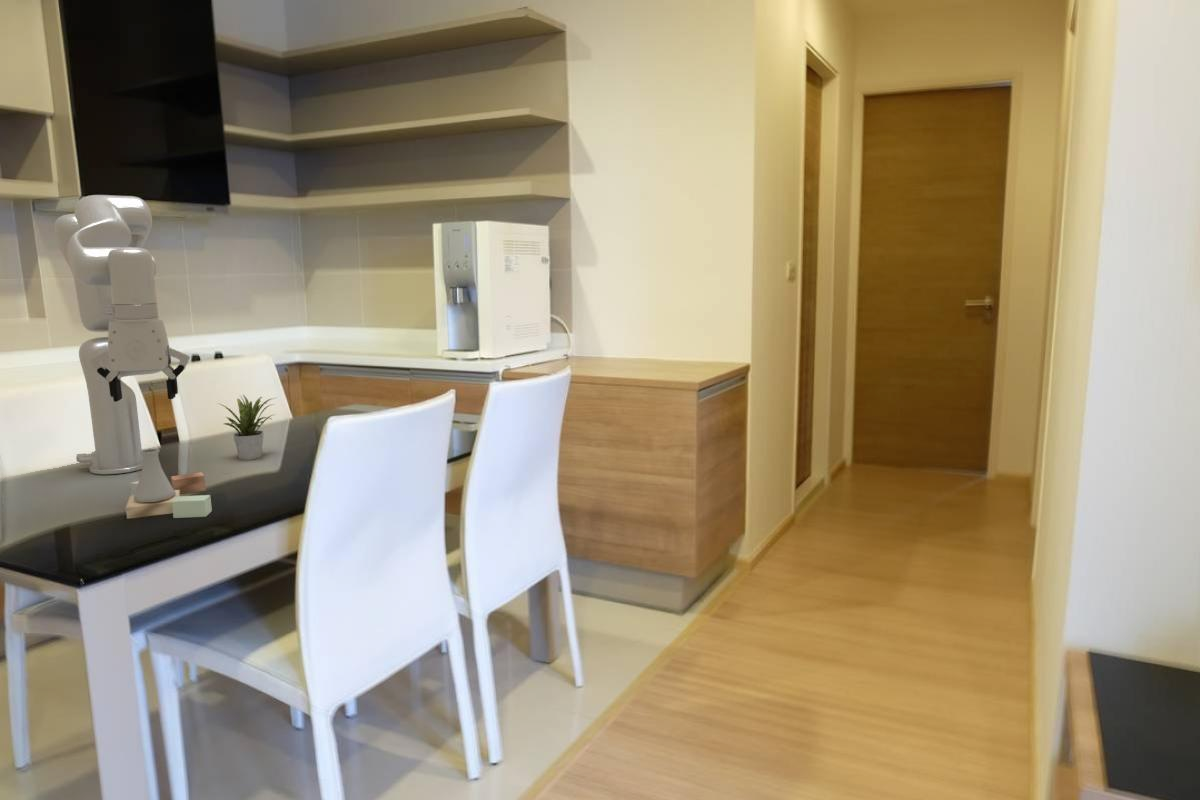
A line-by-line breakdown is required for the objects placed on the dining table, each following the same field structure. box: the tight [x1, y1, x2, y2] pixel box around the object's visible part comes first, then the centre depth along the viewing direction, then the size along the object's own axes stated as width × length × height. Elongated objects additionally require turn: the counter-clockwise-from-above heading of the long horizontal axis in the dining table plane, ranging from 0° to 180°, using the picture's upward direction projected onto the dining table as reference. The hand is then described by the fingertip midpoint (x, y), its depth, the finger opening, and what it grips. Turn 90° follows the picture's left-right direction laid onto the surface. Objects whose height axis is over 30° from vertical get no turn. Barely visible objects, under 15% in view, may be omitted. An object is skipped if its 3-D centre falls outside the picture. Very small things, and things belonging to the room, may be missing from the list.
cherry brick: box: [170, 471, 207, 495], centre depth 175 cm, size 6×4×4 cm, turn 126°
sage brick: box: [172, 494, 213, 519], centre depth 159 cm, size 6×4×4 cm, turn 98°
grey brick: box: [130, 480, 139, 495], centre depth 170 cm, size 6×4×4 cm, turn 71°
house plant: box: [216, 394, 278, 461], centre depth 202 cm, size 14×14×16 cm
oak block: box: [125, 490, 181, 520], centre depth 162 cm, size 9×9×3 cm
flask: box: [133, 448, 176, 502], centre depth 161 cm, size 7×7×10 cm
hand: (145, 399), depth 159 cm, fingers open, 9 cm apart
